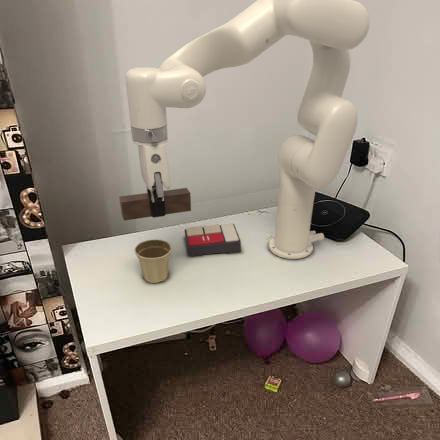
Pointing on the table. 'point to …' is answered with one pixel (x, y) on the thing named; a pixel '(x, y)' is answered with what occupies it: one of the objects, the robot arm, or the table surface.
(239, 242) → the calculator
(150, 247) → the flower pot
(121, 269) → the table surface
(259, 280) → the table surface
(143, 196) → the brown wooden block
